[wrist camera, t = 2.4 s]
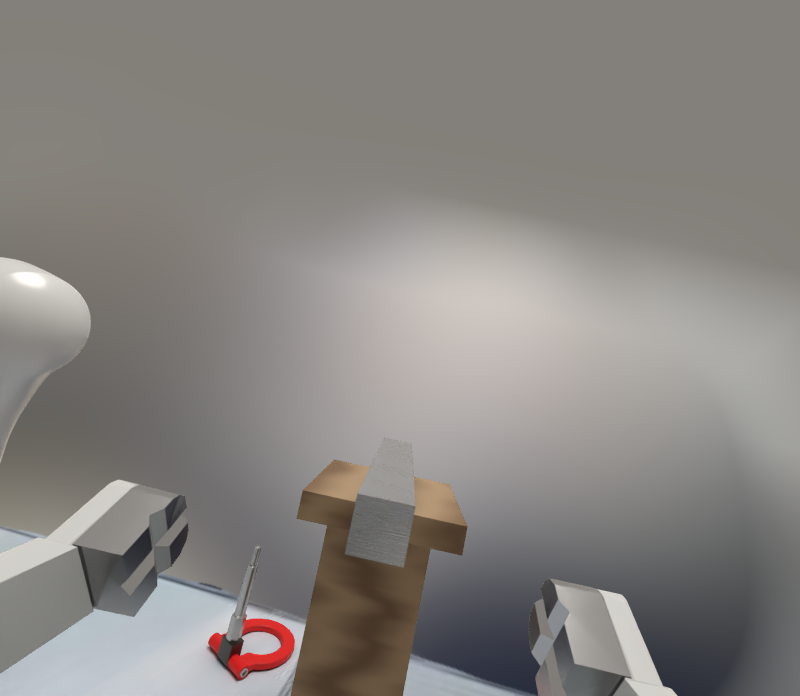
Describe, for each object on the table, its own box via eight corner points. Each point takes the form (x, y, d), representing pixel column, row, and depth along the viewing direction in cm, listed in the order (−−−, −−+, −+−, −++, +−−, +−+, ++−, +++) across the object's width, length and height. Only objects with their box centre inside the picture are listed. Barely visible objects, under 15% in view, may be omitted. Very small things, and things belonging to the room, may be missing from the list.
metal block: (344, 554, 19) (357, 493, 20) (378, 466, 41) (384, 437, 42) (403, 567, 19) (415, 506, 20) (406, 472, 41) (411, 443, 41)
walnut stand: (190, 906, 25) (285, 491, 27) (269, 719, 39) (326, 455, 41) (407, 965, 24) (484, 534, 27) (408, 753, 38) (457, 484, 40)
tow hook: (266, 620, 54) (201, 644, 47) (292, 524, 55) (233, 533, 48) (305, 656, 49) (240, 689, 41) (332, 549, 50) (273, 563, 43)
